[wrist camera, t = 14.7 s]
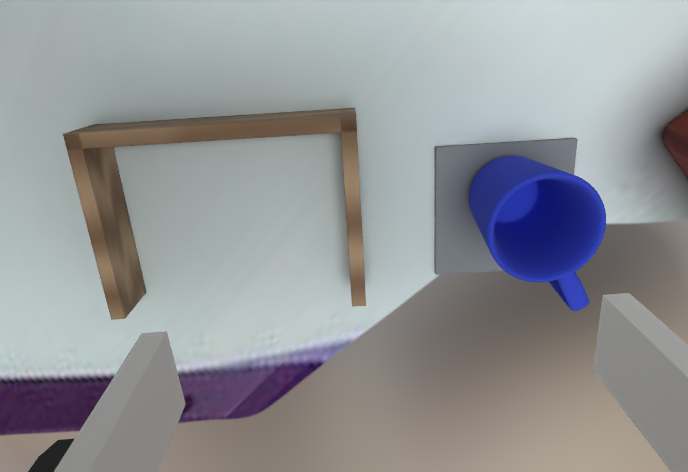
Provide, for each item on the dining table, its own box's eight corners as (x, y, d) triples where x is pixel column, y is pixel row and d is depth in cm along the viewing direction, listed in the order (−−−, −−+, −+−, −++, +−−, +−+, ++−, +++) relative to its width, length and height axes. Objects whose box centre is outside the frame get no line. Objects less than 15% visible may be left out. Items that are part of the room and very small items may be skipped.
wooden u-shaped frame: (93, 124, 43) (63, 134, 38) (354, 107, 42) (355, 115, 37) (133, 293, 48) (111, 319, 44) (363, 280, 48) (365, 305, 43)
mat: (435, 146, 43) (436, 147, 43) (574, 137, 43) (577, 139, 42) (434, 271, 48) (435, 274, 47) (561, 264, 47) (564, 267, 47)
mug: (499, 282, 47) (537, 340, 38) (442, 175, 44) (468, 210, 34) (581, 241, 46) (642, 291, 36) (529, 127, 42) (581, 150, 33)
